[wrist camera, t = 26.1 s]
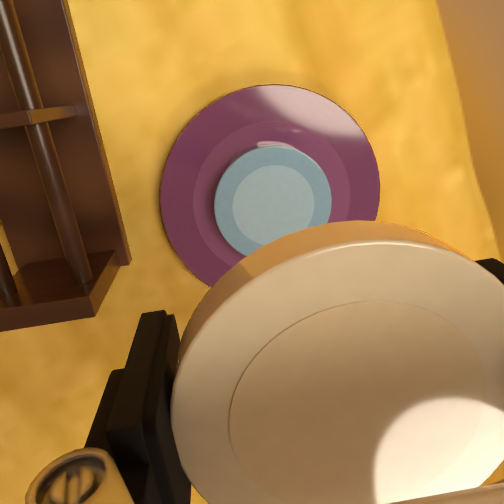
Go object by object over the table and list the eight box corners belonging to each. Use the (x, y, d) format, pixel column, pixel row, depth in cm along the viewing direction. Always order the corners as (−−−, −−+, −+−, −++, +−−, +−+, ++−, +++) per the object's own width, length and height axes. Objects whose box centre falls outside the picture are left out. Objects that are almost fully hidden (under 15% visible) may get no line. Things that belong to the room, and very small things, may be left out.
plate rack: (-96, -78, 21) (-249, -163, 14) (44, -95, 21) (-37, -185, 14) (28, 275, 28) (-32, 337, 21) (132, 259, 28) (107, 315, 21)
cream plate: (140, 249, 8) (128, 276, 7) (516, 193, 8) (566, 210, 7) (205, 519, 10) (204, 572, 9) (488, 471, 11) (521, 517, 10)
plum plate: (139, 101, 25) (137, 102, 24) (373, 69, 25) (378, 68, 25) (183, 311, 30) (183, 317, 29) (377, 280, 30) (382, 285, 30)
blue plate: (205, 151, 25) (204, 154, 24) (323, 135, 26) (328, 137, 24) (222, 262, 28) (223, 269, 27) (330, 246, 28) (335, 253, 27)
